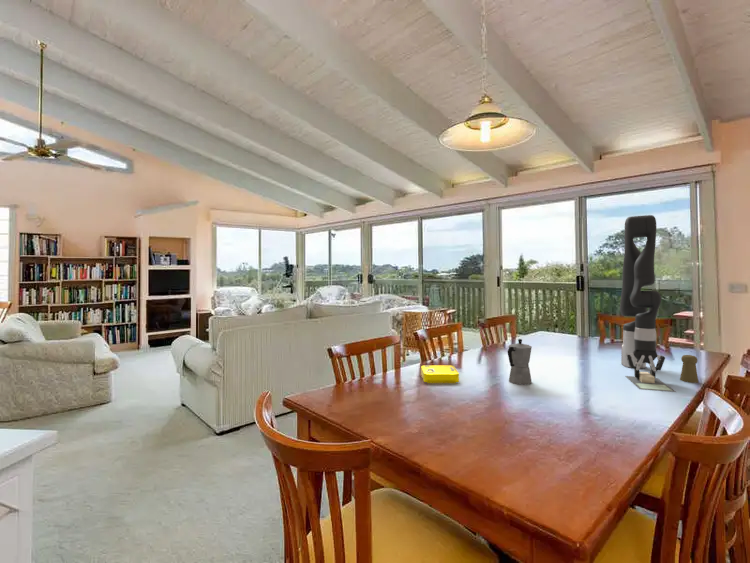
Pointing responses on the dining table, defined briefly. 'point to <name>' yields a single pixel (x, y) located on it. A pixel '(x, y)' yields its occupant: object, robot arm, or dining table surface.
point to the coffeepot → (519, 363)
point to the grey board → (650, 385)
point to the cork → (689, 369)
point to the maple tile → (646, 377)
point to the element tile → (439, 374)
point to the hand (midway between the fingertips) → (644, 379)
